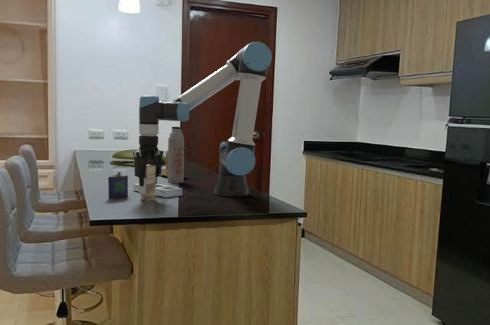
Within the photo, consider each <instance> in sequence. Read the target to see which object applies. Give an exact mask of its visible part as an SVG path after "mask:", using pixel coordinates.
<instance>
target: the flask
mask: <svg viewBox="0 0 490 325" xmlns="http://www.w3.org/2000/svg"><path fill="white" fill-rule="evenodd" d="M121 173H122V172H121V171H117V173H116V174H114V175H113V174H112V175H109V176H108V178H107V179H108V181H107V182H108V184H107V185H108V200H116V199H121V198H122V199H123V198H127V196H128V195H129V190H128V189H129V188H128V187H129V175H128V174H121ZM128 197H129V196H128Z"/></svg>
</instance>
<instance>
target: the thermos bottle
mask: <svg viewBox="0 0 490 325" xmlns="http://www.w3.org/2000/svg"><path fill="white" fill-rule="evenodd" d="M167 140H168V142H167V144H168V145H167V146H168V147H167V150H168V177H167V182H168V183H173V184H178V183H180V184H181V183H182V184H183V183H184V175H185V173H184V172H185V171H184V168H185V165H184V163H185V160H184V158H185V138H184V133H183V132H182V127H181V126H171V132H170V133H169V137H168V139H167Z"/></svg>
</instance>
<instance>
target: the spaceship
mask: <svg viewBox="0 0 490 325" xmlns="http://www.w3.org/2000/svg"><path fill="white" fill-rule="evenodd" d="M138 150H139V149H133V148H132V149H124V150H120V151H117V152H115V153H113V155H112V156H111V157H112V158H113V159H118V160H131V161H132V160H133V162H129V161H128V162H127V161H118V160H112V161H110V162H109V164H110V165H113V164H114V165H113V166H121V165H122V166H121V167H129V166H130V167H131V168H135V165H134V155H133V152H136V151H138ZM140 157H141V156H140ZM165 158H166V156H164V154H163V155H162V165H165V164H166V159H165ZM147 164H150V161H149V160H148V161H147Z"/></svg>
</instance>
